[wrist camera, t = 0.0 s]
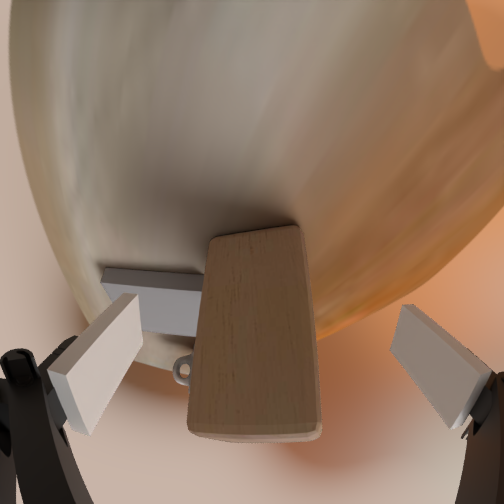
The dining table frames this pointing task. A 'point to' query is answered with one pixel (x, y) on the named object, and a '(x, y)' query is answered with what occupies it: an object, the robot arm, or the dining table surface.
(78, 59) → the dining table surface
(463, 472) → the robot arm
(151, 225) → the dining table surface
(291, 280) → the block
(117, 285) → the stand
